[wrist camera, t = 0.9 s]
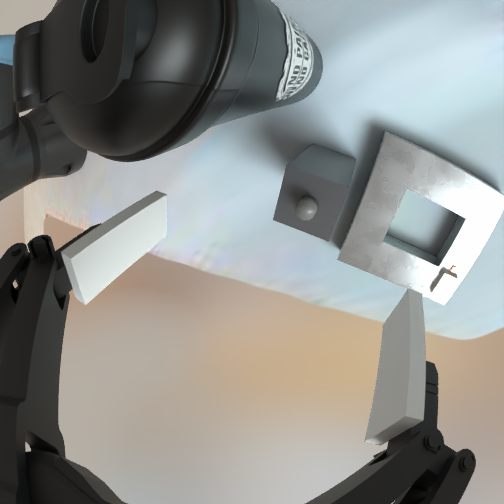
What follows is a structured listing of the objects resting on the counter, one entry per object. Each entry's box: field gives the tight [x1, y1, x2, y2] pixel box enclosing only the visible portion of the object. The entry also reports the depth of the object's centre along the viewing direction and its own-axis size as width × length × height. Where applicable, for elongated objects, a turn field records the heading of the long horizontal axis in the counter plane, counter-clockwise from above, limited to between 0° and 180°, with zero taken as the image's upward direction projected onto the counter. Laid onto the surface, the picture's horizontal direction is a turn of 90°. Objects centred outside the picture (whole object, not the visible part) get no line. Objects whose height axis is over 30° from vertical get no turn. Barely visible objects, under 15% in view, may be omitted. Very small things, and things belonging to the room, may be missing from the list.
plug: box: [273, 144, 356, 241], centre depth 23 cm, size 4×4×10 cm
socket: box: [337, 131, 504, 305], centre depth 24 cm, size 14×14×3 cm
